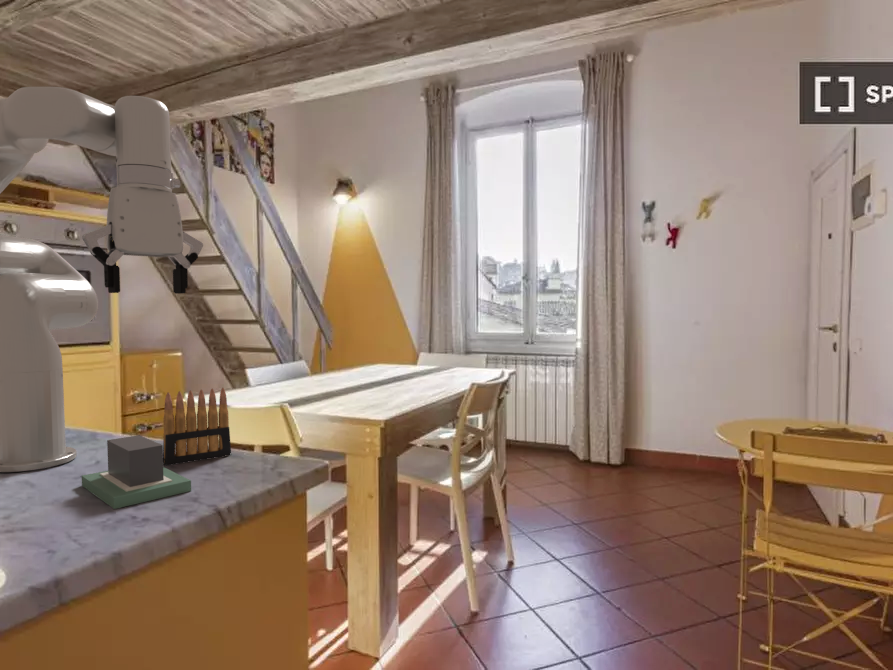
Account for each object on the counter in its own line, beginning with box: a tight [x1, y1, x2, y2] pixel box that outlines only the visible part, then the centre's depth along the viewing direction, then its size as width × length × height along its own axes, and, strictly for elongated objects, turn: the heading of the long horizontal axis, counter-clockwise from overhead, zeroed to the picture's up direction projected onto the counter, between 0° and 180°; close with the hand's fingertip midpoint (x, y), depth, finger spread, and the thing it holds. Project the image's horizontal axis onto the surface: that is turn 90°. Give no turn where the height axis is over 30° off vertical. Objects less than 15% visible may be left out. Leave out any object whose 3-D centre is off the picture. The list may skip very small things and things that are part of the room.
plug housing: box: [106, 434, 164, 487], centre depth 84 cm, size 9×4×5 cm, turn 47°
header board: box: [81, 466, 192, 510], centre depth 84 cm, size 14×10×5 cm
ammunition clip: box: [162, 387, 232, 466], centre depth 99 cm, size 11×2×12 cm, turn 127°
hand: (148, 293), depth 91 cm, fingers open, 9 cm apart
